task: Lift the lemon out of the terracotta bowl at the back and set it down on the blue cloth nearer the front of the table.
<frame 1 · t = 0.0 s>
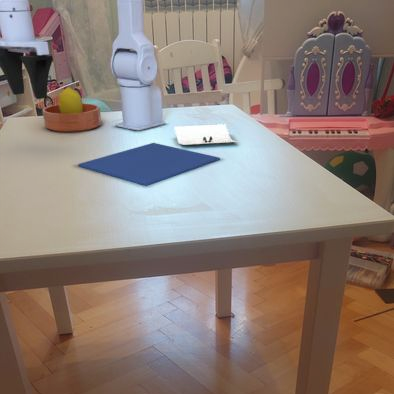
hand: (29, 96, 95), 10 cm above the table, tool pointing down, fingers open, 7 cm apart
lemon: (73, 125, 118), resting on bowl
bowl: (73, 126, 119), on the table
white square plate: (206, 142, 106), on the table
cloth: (150, 162, 94), on the table
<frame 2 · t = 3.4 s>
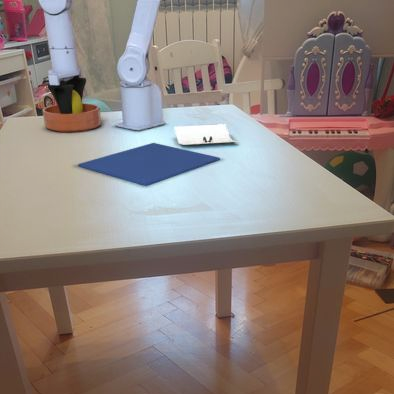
hand: (72, 114, 117), 3 cm above the table, tool pointing down, fingers closed on lemon, 5 cm apart
lemon: (73, 125, 118), resting on bowl, touching gripper
everything else where it was.
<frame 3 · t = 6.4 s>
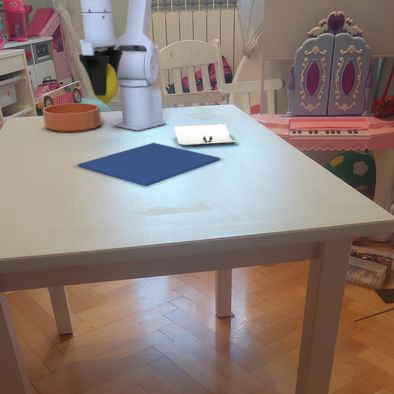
hand: (105, 92, 101), 10 cm above the table, tool pointing down, fingers closed on lemon, 5 cm apart
lemon: (106, 105, 102), point 7 cm above the table, touching gripper
everything else where it was.
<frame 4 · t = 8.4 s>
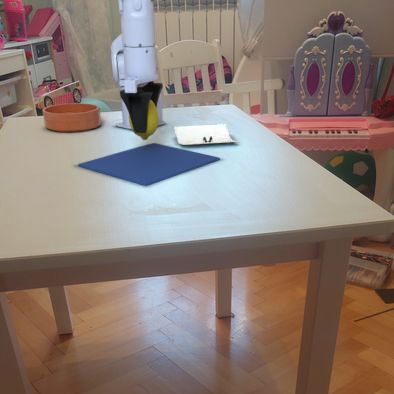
hand: (144, 128, 94), 5 cm above the table, tool pointing down, fingers closed on lemon, 5 cm apart
lemon: (145, 141, 96), point 3 cm above the table, touching gripper
everything else where it was.
when the fingers open (2 cm above the table, at t = 9.8 s): lemon stays where it is, resting on cloth.
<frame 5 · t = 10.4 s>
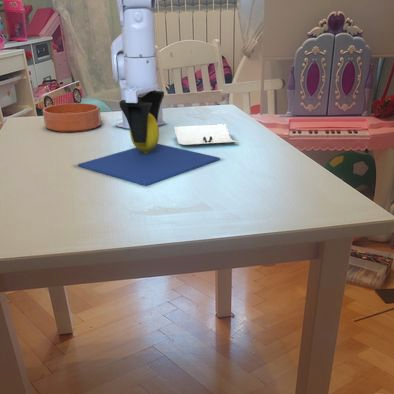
hand: (145, 137, 95), 3 cm above the table, tool pointing down, fingers open, 7 cm apart
lemon: (145, 154, 97), resting on cloth
everything else where it was.
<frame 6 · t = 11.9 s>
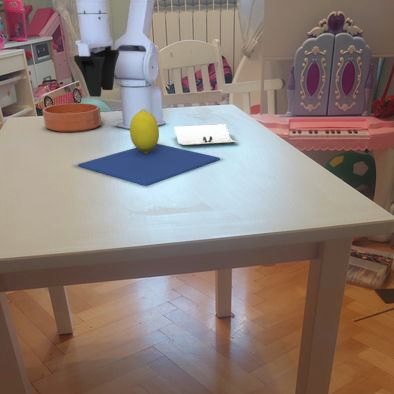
hand: (101, 93, 102), 9 cm above the table, tool pointing down, fingers open, 7 cm apart
nothing on the table moved.
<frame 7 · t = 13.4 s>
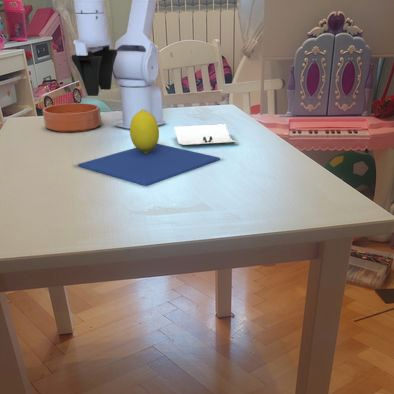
hand: (99, 92, 102), 9 cm above the table, tool pointing down, fingers open, 7 cm apart
nothing on the table moved.
at the end: lemon inside the target area on the cloth (5.0 cm from its centre), point 0.2 cm above the cloth's base; lemon touching cloth; the gripper is holding nothing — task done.
